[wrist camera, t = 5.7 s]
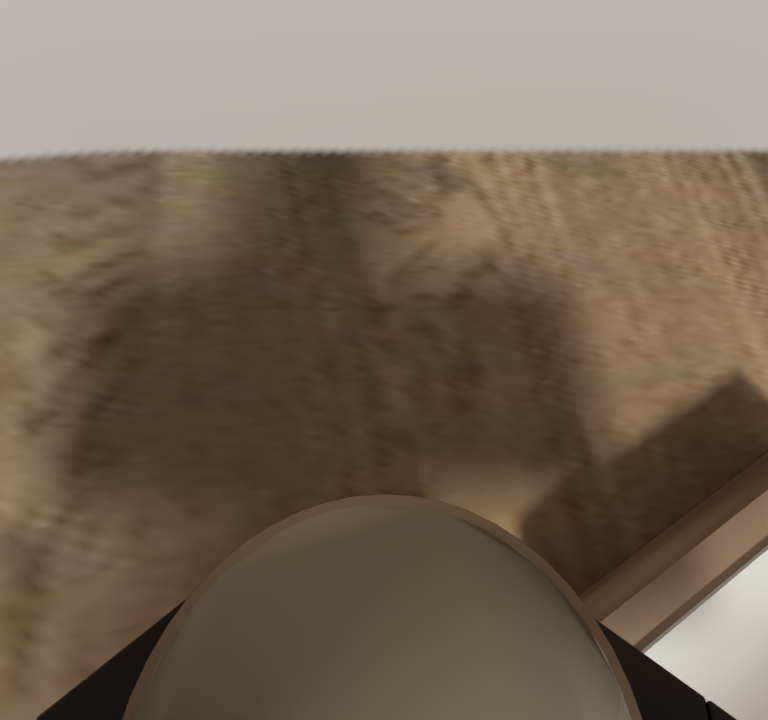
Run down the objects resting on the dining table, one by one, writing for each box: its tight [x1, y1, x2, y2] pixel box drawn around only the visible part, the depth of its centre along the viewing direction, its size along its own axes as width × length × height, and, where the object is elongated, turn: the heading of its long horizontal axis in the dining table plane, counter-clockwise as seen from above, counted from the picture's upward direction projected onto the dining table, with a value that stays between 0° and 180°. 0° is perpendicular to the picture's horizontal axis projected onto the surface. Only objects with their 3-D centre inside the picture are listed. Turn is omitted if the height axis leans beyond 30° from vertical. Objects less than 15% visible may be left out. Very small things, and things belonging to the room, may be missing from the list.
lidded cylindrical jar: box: [122, 494, 642, 720], centre depth 9 cm, size 5×5×11 cm
